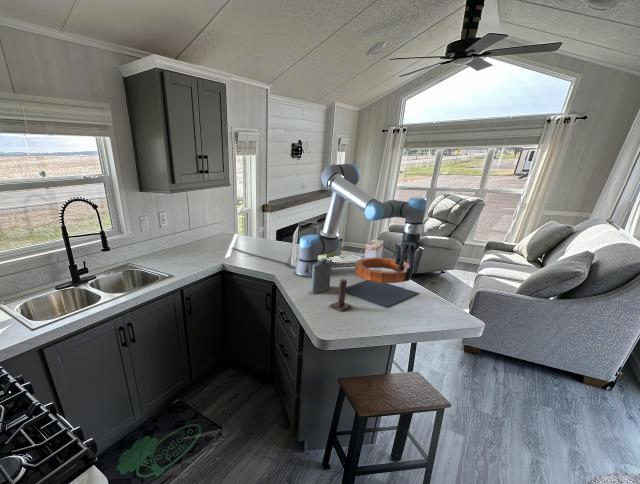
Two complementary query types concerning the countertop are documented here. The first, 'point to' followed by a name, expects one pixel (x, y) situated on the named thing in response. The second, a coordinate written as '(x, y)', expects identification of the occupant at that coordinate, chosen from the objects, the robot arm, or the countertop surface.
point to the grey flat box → (321, 276)
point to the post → (341, 297)
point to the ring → (380, 276)
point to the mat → (380, 292)
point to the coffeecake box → (374, 250)
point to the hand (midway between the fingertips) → (403, 279)
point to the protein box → (336, 253)
